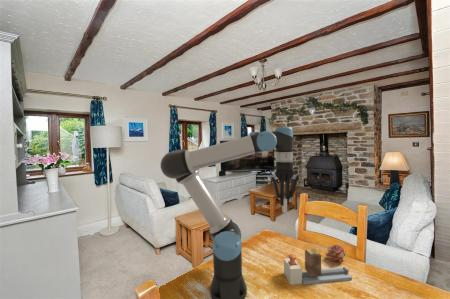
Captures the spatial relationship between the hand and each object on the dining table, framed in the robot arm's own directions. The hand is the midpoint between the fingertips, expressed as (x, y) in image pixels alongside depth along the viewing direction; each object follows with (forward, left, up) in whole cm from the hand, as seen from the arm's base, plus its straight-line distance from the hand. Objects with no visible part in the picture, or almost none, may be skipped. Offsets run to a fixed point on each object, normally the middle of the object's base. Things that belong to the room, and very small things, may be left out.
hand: (284, 212), depth 98 cm
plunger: (+2, -4, -24) cm, 25 cm away
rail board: (+16, -5, -29) cm, 33 cm away
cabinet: (+2, -4, -29) cm, 29 cm away
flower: (+28, +6, -29) cm, 41 cm away
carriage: (+11, -5, -26) cm, 29 cm away
